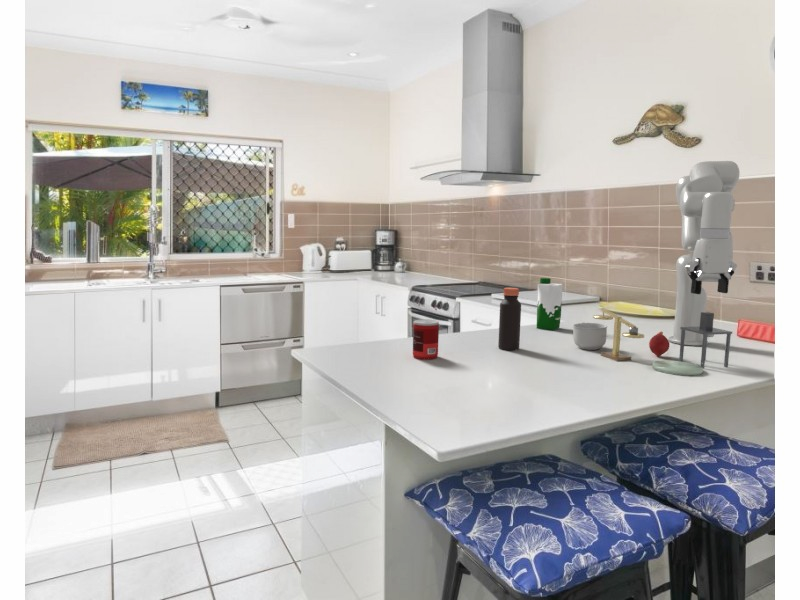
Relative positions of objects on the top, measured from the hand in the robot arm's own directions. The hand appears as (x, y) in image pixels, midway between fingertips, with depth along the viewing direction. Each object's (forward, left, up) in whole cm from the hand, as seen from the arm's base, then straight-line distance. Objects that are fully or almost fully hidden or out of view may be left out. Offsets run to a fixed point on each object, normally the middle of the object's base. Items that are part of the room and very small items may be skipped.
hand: (709, 293), depth 167 cm
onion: (+6, -11, -22) cm, 25 cm away
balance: (+21, -12, -21) cm, 33 cm away
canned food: (+79, -25, -22) cm, 86 cm away
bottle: (+48, -31, -22) cm, 62 cm away
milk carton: (+14, -64, -22) cm, 70 cm away
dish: (+13, +5, -21) cm, 26 cm away
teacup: (+20, -28, -22) cm, 41 cm away
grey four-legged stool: (0, 0, -21) cm, 21 cm away
